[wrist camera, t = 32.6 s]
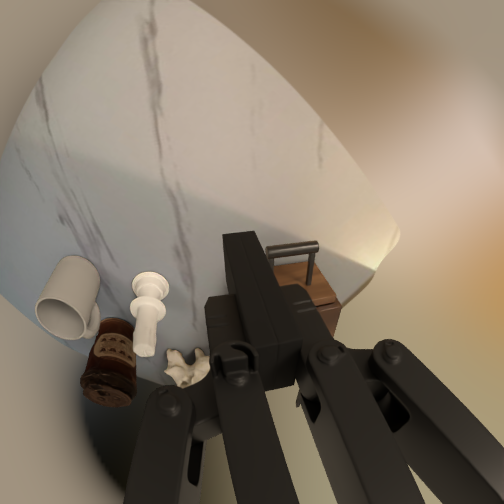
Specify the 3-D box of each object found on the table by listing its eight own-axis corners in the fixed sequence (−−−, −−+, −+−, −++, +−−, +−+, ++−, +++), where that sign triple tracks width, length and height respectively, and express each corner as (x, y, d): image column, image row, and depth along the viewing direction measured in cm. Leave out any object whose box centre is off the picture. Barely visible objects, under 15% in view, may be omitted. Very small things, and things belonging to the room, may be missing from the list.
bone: (206, 334, 45) (219, 369, 38) (226, 377, 52) (239, 407, 46) (159, 350, 43) (165, 386, 37) (187, 390, 50) (196, 422, 44)
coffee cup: (97, 303, 36) (79, 374, 25) (147, 320, 39) (142, 392, 29) (90, 337, 39) (77, 401, 28) (134, 350, 43) (130, 415, 32)
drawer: (239, 229, 34) (252, 265, 27) (317, 221, 35) (345, 252, 29) (244, 335, 44) (254, 373, 38) (303, 324, 46) (319, 359, 39)
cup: (81, 245, 31) (59, 288, 23) (121, 298, 36) (111, 345, 29) (48, 265, 31) (25, 307, 23) (87, 312, 36) (75, 357, 29)
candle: (176, 283, 37) (176, 352, 27) (156, 306, 38) (153, 373, 28) (144, 264, 34) (132, 332, 24) (125, 289, 36) (112, 356, 26)
